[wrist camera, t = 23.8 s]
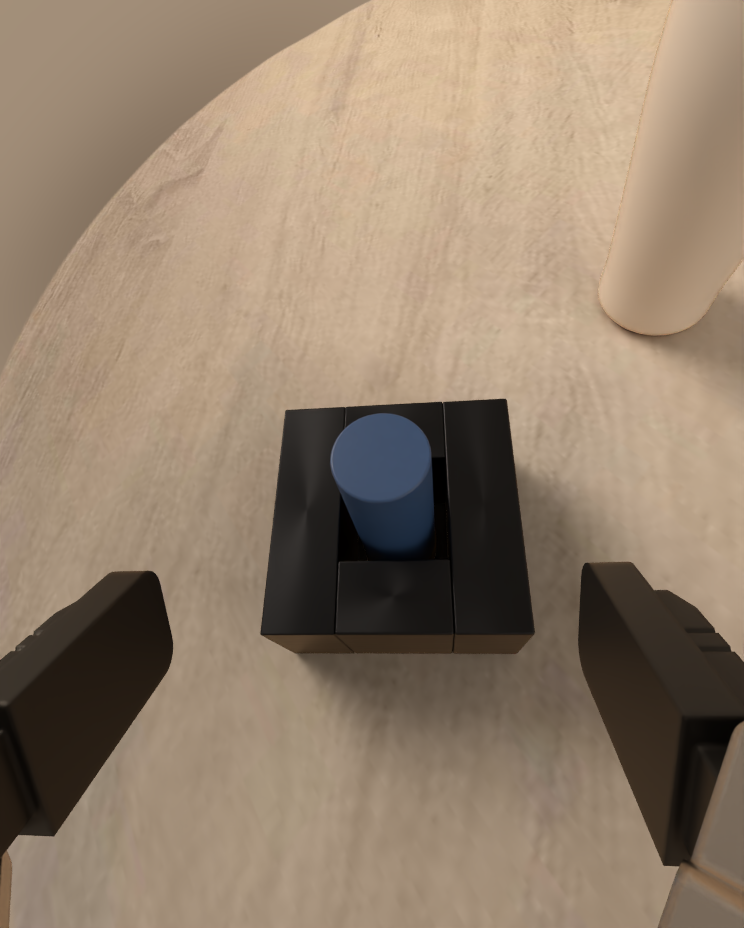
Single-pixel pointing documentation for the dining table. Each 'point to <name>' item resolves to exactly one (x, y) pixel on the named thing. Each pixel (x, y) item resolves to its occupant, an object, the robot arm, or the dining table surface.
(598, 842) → the dining table surface
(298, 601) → the holder
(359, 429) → the handle
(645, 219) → the drinking glass
